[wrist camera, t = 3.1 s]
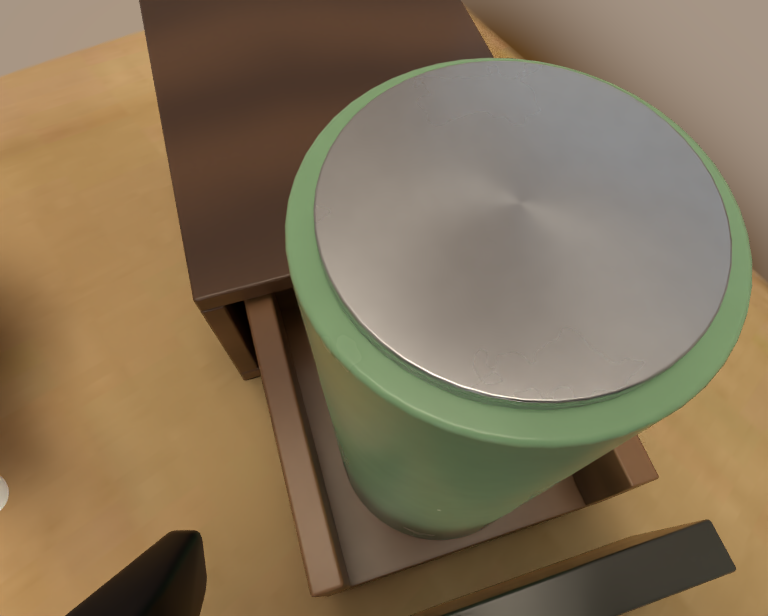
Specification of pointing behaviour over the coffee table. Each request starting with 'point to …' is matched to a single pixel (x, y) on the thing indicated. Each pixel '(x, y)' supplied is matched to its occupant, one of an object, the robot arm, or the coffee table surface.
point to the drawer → (401, 551)
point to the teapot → (3, 492)
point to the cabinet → (269, 120)
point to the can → (506, 282)
